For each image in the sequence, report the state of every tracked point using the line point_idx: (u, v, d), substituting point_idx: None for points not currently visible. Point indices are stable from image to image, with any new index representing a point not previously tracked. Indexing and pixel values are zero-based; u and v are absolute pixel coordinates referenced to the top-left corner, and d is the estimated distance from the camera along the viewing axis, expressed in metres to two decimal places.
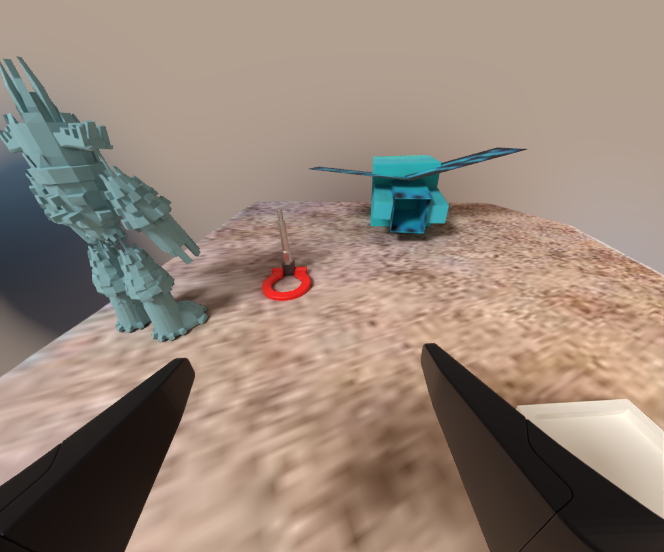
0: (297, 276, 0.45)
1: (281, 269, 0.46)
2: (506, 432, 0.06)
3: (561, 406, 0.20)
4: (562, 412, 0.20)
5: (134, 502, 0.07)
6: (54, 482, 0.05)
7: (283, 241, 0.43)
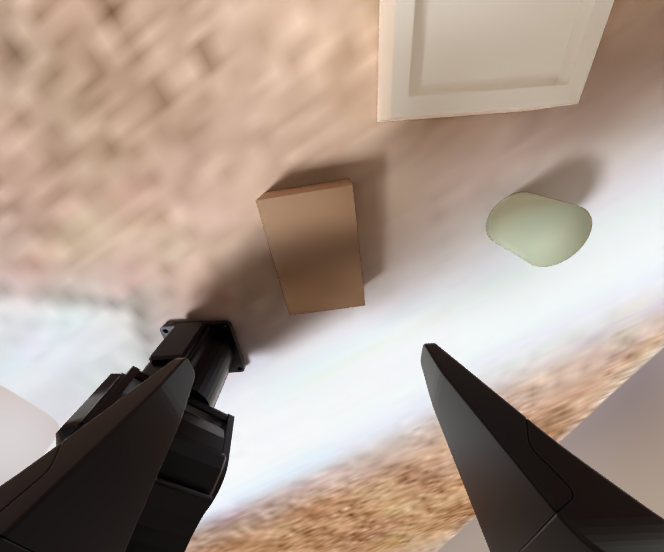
0: None
1: None
2: (506, 432, 0.06)
3: None
4: None
5: (134, 502, 0.07)
6: (54, 482, 0.05)
7: None
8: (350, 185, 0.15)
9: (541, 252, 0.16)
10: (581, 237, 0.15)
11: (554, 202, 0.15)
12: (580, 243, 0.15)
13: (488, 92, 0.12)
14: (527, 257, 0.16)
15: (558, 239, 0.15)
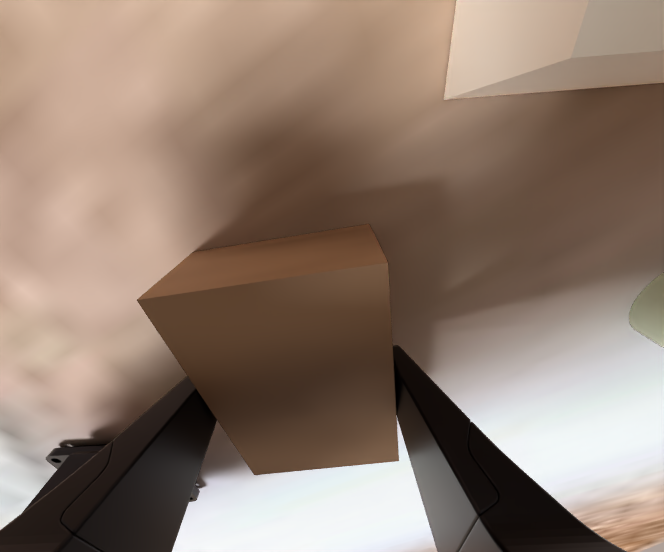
0: None
1: None
2: (448, 435, 0.06)
3: None
4: None
5: (180, 500, 0.07)
6: (114, 479, 0.05)
7: None
8: (381, 262, 0.06)
9: None
10: None
11: None
12: None
13: None
14: None
15: None
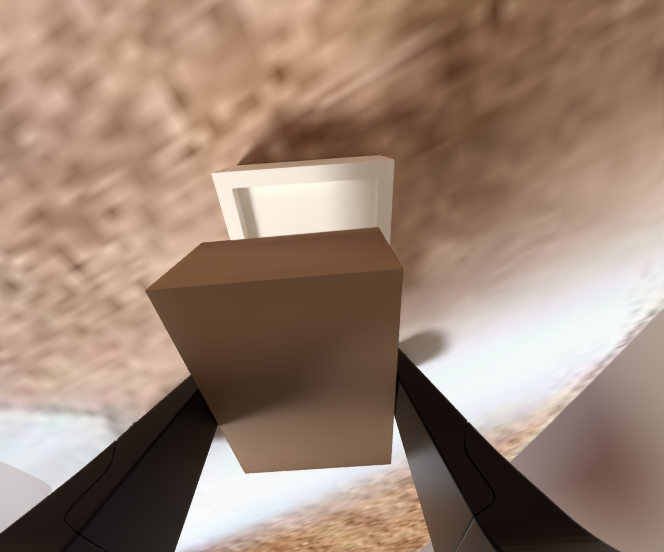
0: None
1: None
2: (446, 435, 0.06)
3: (279, 173, 0.12)
4: (275, 184, 0.13)
5: (183, 500, 0.07)
6: (118, 479, 0.05)
7: None
8: (396, 267, 0.06)
9: None
10: None
11: None
12: None
13: None
14: None
15: None
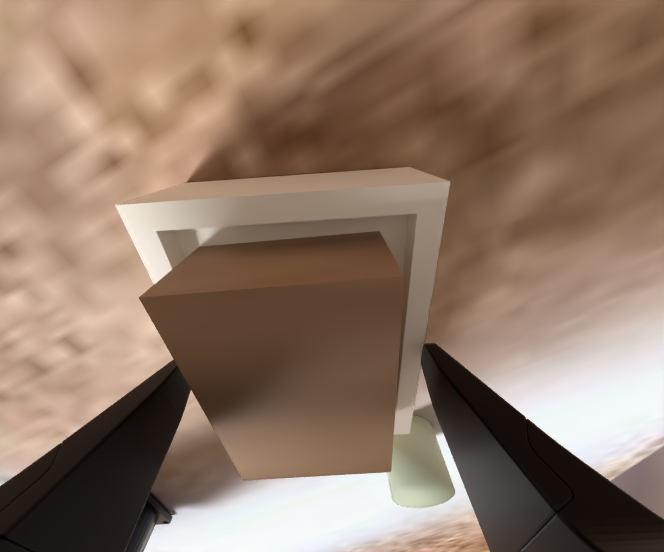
0: None
1: None
2: (506, 432, 0.06)
3: (239, 206, 0.07)
4: (233, 224, 0.07)
5: (134, 502, 0.07)
6: (54, 482, 0.05)
7: None
8: (397, 275, 0.06)
9: (413, 501, 0.16)
10: (447, 494, 0.16)
11: (419, 464, 0.15)
12: (448, 497, 0.16)
13: None
14: (400, 504, 0.16)
15: (426, 495, 0.16)
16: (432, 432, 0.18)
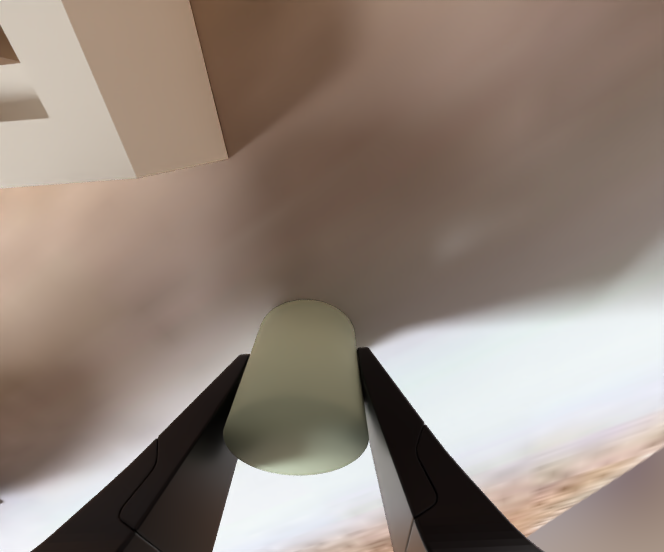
0: None
1: None
2: (401, 438, 0.06)
3: None
4: None
5: (220, 498, 0.07)
6: (166, 477, 0.05)
7: None
8: None
9: (283, 458, 0.07)
10: (353, 439, 0.07)
11: (283, 368, 0.07)
12: (357, 447, 0.07)
13: None
14: (258, 465, 0.07)
15: (305, 442, 0.07)
16: (345, 328, 0.09)
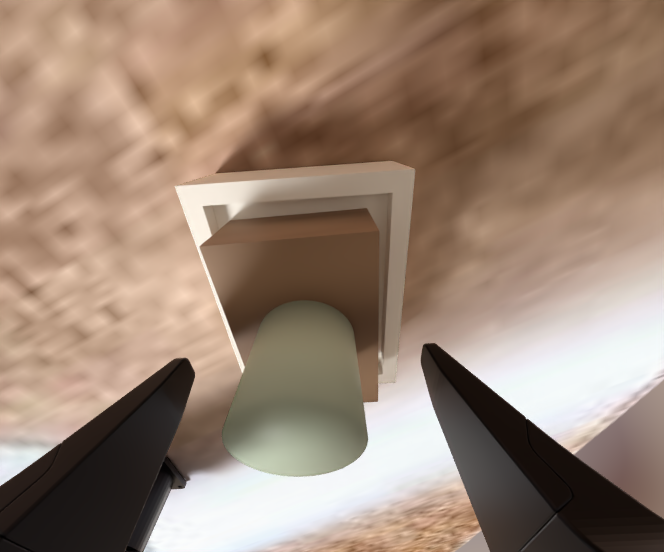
0: None
1: None
2: (506, 432, 0.06)
3: (264, 187, 0.09)
4: (259, 201, 0.10)
5: (134, 502, 0.07)
6: (54, 482, 0.05)
7: None
8: (375, 230, 0.08)
9: (282, 459, 0.07)
10: (352, 440, 0.07)
11: (282, 369, 0.07)
12: (356, 448, 0.07)
13: None
14: (257, 466, 0.07)
15: (303, 443, 0.07)
16: (344, 329, 0.09)
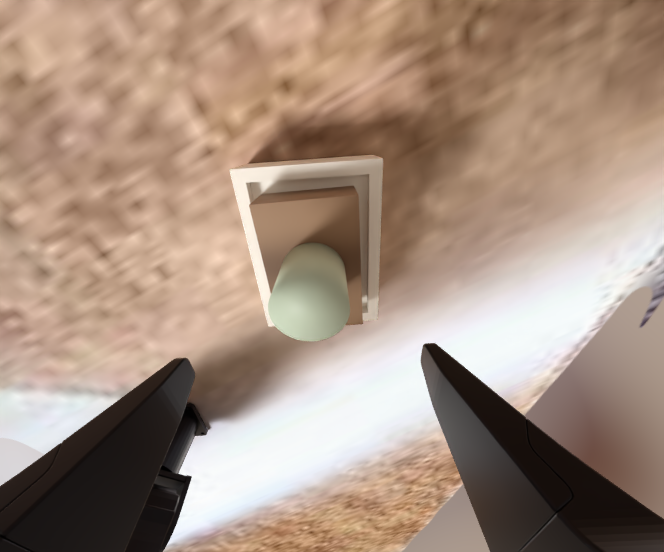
0: None
1: None
2: (506, 432, 0.06)
3: (286, 170, 0.15)
4: (282, 179, 0.15)
5: (134, 502, 0.07)
6: (54, 482, 0.05)
7: None
8: (356, 195, 0.13)
9: (300, 326, 0.13)
10: (341, 309, 0.12)
11: (302, 267, 0.12)
12: (343, 316, 0.12)
13: None
14: (285, 331, 0.13)
15: (313, 312, 0.12)
16: (337, 259, 0.14)
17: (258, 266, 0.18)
